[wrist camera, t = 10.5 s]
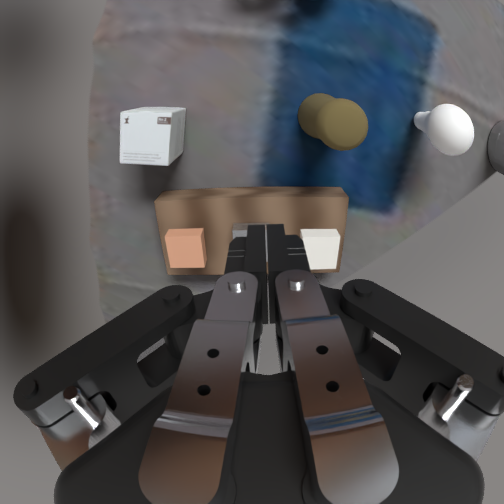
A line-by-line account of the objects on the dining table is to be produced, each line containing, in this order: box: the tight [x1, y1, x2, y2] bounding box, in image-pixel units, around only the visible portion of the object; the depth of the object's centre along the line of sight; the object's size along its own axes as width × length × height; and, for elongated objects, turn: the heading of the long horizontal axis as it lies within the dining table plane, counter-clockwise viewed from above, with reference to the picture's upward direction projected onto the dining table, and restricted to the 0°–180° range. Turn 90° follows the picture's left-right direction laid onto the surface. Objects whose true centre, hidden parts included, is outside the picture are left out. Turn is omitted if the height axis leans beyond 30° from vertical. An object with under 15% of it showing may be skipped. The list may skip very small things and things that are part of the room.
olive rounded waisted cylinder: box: [298, 93, 368, 151], centre depth 29 cm, size 6×6×11 cm
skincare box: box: [120, 107, 186, 166], centre depth 31 cm, size 6×6×7 cm
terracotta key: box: [165, 228, 207, 268], centre depth 36 cm, size 4×4×2 cm
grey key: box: [232, 223, 269, 262], centre depth 37 cm, size 4×4×2 cm
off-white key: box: [300, 229, 340, 269], centre depth 35 cm, size 4×4×2 cm
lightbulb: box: [414, 104, 474, 156], centre depth 28 cm, size 6×6×11 cm
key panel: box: [154, 187, 349, 275], centre depth 40 cm, size 24×11×4 cm, turn 92°
